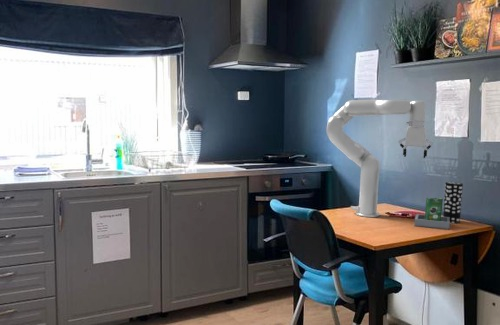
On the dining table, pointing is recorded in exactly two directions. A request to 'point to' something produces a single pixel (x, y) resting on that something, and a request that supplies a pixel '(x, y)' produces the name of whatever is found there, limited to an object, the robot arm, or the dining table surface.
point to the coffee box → (433, 209)
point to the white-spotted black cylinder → (453, 201)
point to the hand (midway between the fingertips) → (414, 157)
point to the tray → (432, 222)
